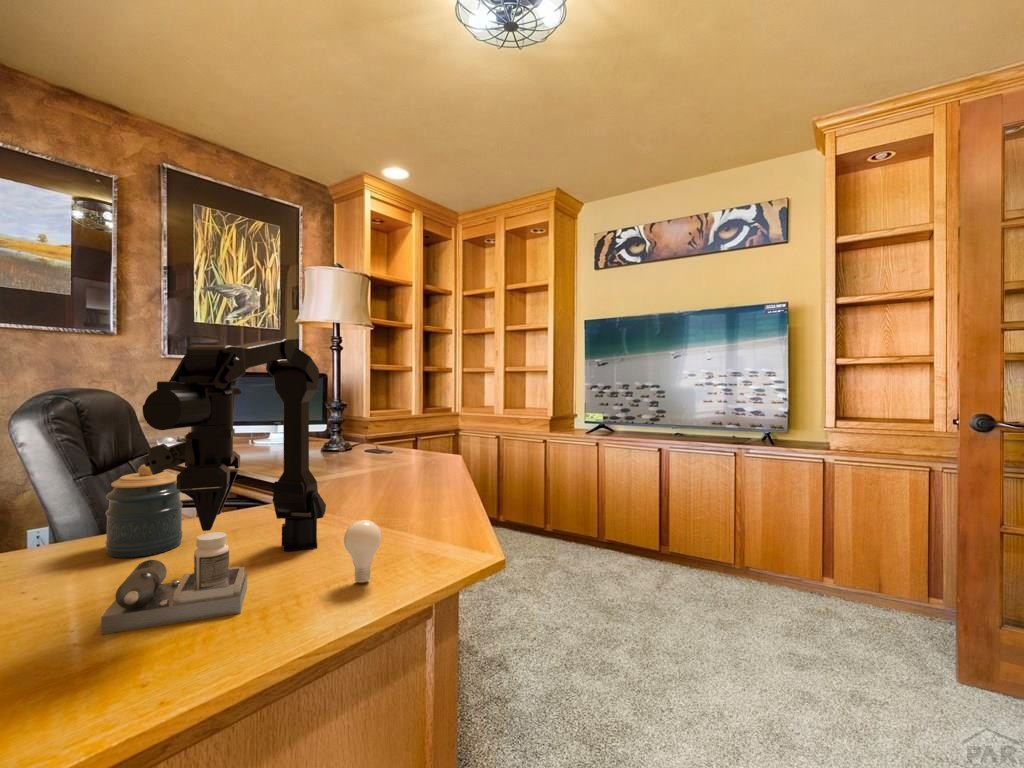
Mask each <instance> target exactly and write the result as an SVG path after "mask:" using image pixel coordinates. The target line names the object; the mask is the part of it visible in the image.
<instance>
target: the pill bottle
mask: <svg viewBox="0 0 1024 768" xmlns="http://www.w3.org/2000/svg"><path fill="white" fill-rule="evenodd" d="M195 546H196V547H197V548H196V549H195V551H194V553H193V572H194V590H196V589H203V588H211V587H218V586H226V585H229V568H230V548H229V545H228V544H227V534H226V533H225V532H223V531H221V532H220V531H218V532H217V531H216V532H214V531H213V532H208V533H204V534H200V535H198V536H197V537H196V545H195Z"/></svg>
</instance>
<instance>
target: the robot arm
mask: <svg viewBox="0 0 1024 768" xmlns="http://www.w3.org/2000/svg"><path fill="white" fill-rule="evenodd" d="M265 364H266V367H265V371H266V372H267V373H268V374H269V376H270V377H272V379H273V383H274V390H275V392H276V394H277V395H278V397H279V398H280V400H281V401H282V404H283V407H282V408H283V409H282V411H283V415H282V417H283V418H282V419H283V473H282V474H281V475H280V477H279V478H278V480H277V481H274V482H273V485H272V490H273V492H272V493H273V495H272V502H273V507H274V512H275V516H276V519H277V520H280V519H284V523H282V524H281V547H283V551H284V552H290V551H292V552H293V551H299V550H300V551H301V550H308V549H316V548H318V537H317V536H318V534H317V533H318V528H317V527H318V519H323V518H324V516H325V513H326V508H327V504H326V502H325V501H324V499H323V498H322V496H321V494H320V493H319V490H318V488H319V487H318V480H316V479H317V478H315V476H314V475H313V473H312V472H311V470H310V441H309V440H310V406H309V405H310V401H311V400H312V398H313V396H314V395H315V393H316V392H317V390H318V380H319V378H320V370H319V367H318V366H317V364H316V363H315V362H314V360H313V359H312V357H311V356H310V355H309V354H307V353H305V351H302V350H301V349H299V348H298V347H296V345H295V344H294V343H293V341H292V340H290V339H288V338H267V339H264V340H262V341H261V340H260V341H255V342H250V343H249V342H248V343H244V344H239V345H229V344H228V345H227V344H226V345H221V344H220V345H219V344H218V345H215V344H214V345H212V344H210V345H206V344H205V345H203V344H201V345H200V344H197V345H191V346H189V347H188V348H186V353H185V354H184V356H183V357H182V358H181V361H180V362H179V363H178V365H177V368H176V369H175V371H174V373H173V374H172V376H171V377H170V379H169V381H164V380H163V381H157V382H156V390H154V391H152V392H151V393H150V394H148V396H147V398H146V399H145V401H144V404H143V405H142V415H143V418H144V421H145V422H146V423H147V424H148V425H149V426H150V427H151V428H153V429H154V430H158V431H168V430H176V429H185V428H190V431H189V432H187V434H185V441H181V442H178V443H175V444H173V445H169V446H168V445H167V444H165V443H161V444H158V445H155V446H152V447H150V448H149V451H148V453H147V454H146V455H144V459H145V462H144V464H145V466H146V467H149V468H150V470H151V472H152V475H156V474H159V473H161V472H164V471H165V470H169V469H171V468H174V467H177V466H180V465H182V464H184V468H183V470H182V471H180V472H179V473H178V474H177V475H176V477H177V481H176V489H180V490H179V491H180V492H181V493H180V494H184V495H186V496H187V497H189V498H191V499H192V501H193V505H194V507H195V510H196V513H197V517H198V520H199V523H200V528H201V530H202V531H203V532H209V531H211V530H212V528H213V526H214V523H215V521H216V518H217V516H220V514H221V512H222V510H223V508H224V505H225V503H226V501H227V499H228V496H229V494H230V492H231V489H232V487H233V485H234V483H235V480H236V477H237V475H238V472H239V471H240V470H239V468H240V467H241V455H240V454H239V453H238V452H236V451H235V450H234V436H235V432H236V429H235V428H234V396H236V395H237V396H240V395H242V390H241V389H240V388H239V387H237V385H235V384H234V381H235V380H237V379H239V378H240V377H243V376H245V374H247V373H246V372H247V370H248V369H250V368H254V367H257V366H261V365H265ZM230 467H234V469H233V468H231V469H230Z"/></svg>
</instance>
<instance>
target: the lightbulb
mask: <svg viewBox="0 0 1024 768" xmlns="http://www.w3.org/2000/svg"><path fill="white" fill-rule="evenodd" d="M381 543H382V531H381V528H380V527H379V526H378V525H377V523H375V522H373V521H372V520H369V519H359V520H357V521H355V522H353V523H352V524H351V525H350V526H348V527H347V530H346V531H345V533H344V535H343V544H344V547H345V550H346V551H347V553H348V554H349V556H350V557H351V559H352V564H353V567H354V581H355V582H357V583H358V584H361V583H363V584H365V583H367V582H368V581H371V566H372V564H373V560H374V556H375V554H376V552H378V550H379V548H380V546H381Z"/></svg>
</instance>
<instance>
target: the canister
mask: <svg viewBox="0 0 1024 768" xmlns="http://www.w3.org/2000/svg"><path fill="white" fill-rule="evenodd" d="M176 481H177V475H173V474H172V473H171V472H168V471H162V472H161V473H159V474H156V475H152V472H151V470H150V468H149V467H146V466H145V463H144V464H141V465H140V466H139V467H138V469H137V473H135V472H134V473H129V474H124V475H122V476H120V477H119V478H118V479H116V480H115V481H113V482H111V485H110V486H111V487H113V490H112V491H110V492H108V493H107V494H106V495H105V499H106V500H108V502H109V503H108V509H107V510H106V511H105V515H106V540H105V550H106V555H108V556H109V557H110V558H111V557H113V558H117V559H121V558H122V559H123V558H125V559H126V558H127V557H131V558H140V557H139V556H141V557H147V556H151V555H152V554H153V555H157V554H160V553H165V552H167V551H170V550H173V549H175V548H176V547H179V546H180V544H181V543H182V538H183V530H182V529H183V528H182V522H183V521H182V520H183V518H182V517H183V516H182V515H183V514H182V513H183V512H182V511H183V509H182V507H183V506H184V503H183V502H182V501H181V495H180V494H182V493H181V492H180V491H179V490H180V489H176Z"/></svg>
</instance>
